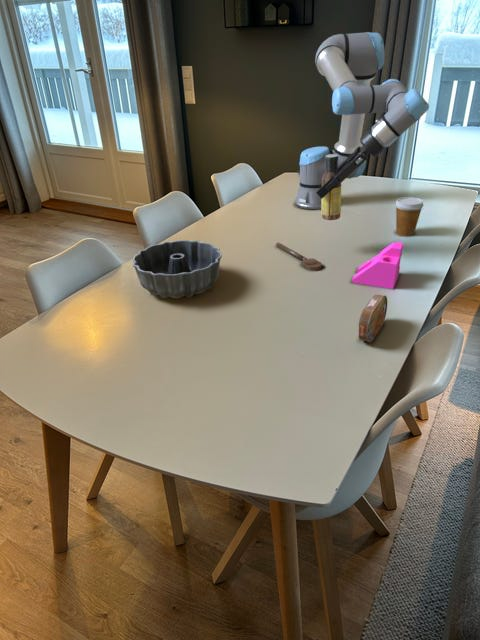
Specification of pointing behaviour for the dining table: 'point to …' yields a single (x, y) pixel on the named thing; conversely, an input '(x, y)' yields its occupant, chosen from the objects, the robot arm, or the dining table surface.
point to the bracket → (381, 268)
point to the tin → (372, 318)
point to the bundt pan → (178, 268)
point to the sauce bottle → (333, 198)
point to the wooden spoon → (302, 258)
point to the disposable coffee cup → (407, 215)
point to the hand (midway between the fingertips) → (320, 192)
